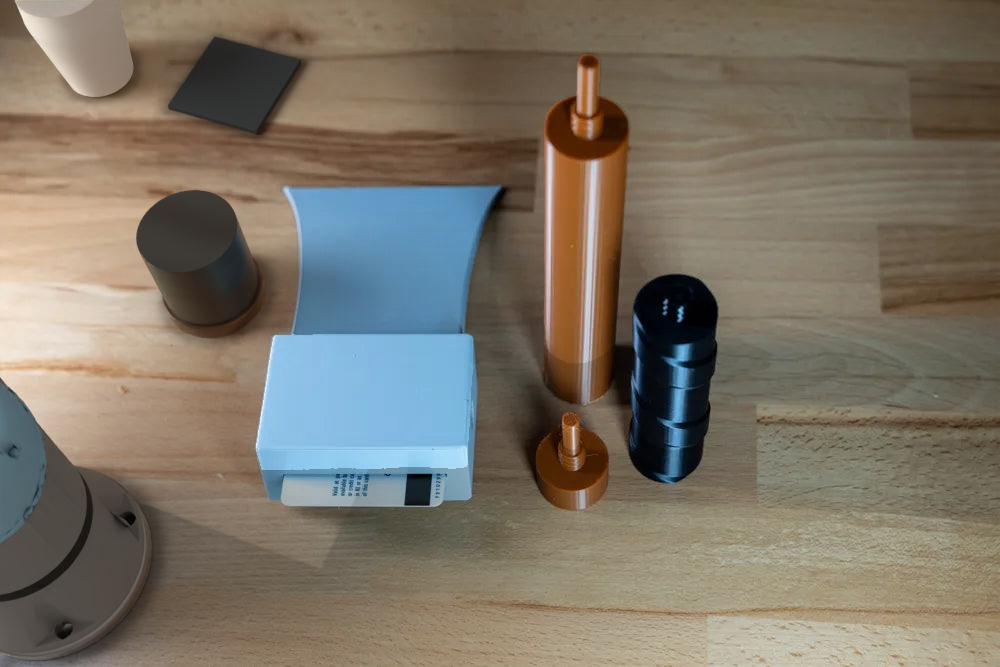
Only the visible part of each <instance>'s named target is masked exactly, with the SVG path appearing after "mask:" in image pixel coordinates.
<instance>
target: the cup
mask: <svg viewBox="0 0 1000 667" xmlns="http://www.w3.org/2000/svg"><path fill="white" fill-rule="evenodd" d="M14 3H15V5H16V8H17V9H18V11H19V14H20V16H21V18H22V22H23V24H24V27H26V29H27V31H28V32H29V34H30V35H31V36H32V38H33V39H34V40H35V42H36V43H37V44H38V46H39V47H40V48H41V50H42V51H43V52H44V53H45V55H46V56H47V58H48V59H49V61H51V63H52V64H53V66H55V69H56V70H58V73H60V74H61V76H62V77H63V78H64V80H65V81H66V82H67V84H68V85H69V86H70V87H71V89H72V90H73V91H74V92H75V93H77V94H79V95H81V96H84V97H89V98H100V97H105V96H109V95H111V94H114V93H116V92H118V91H120V90H121V89H123V88H124V87H125V86H126V85H127V84H128V83H129V82H130V80H131V78H132V77H133V74H134V61H133V58H132V53H131V49H130V45H129V39H128V36H127V32H126V27H125V23H124V18H123V15H122V10H121V5H120V1H119V0H14Z"/></svg>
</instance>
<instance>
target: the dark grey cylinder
mask: <svg viewBox="0 0 1000 667" xmlns="http://www.w3.org/2000/svg"><path fill="white" fill-rule="evenodd" d="M135 237H136V238H135V242H136V247H137V250H138V252H139V255H140V256H141V258H142V260H143V262H144V264H145V266H146V268H147V270H148V272H149V273H150V276H151V278H152V279H153V281H154V283H155V284H156V286H157V288H158V291H159V292H160V294H161V297H162V298H161V299H162V303H163V307H164V308H165V310H166V312H167V314H168V316H169V318H170V320H171V321H172V322H173V324H174V325H175V326H176V327H177V328H179V329H180V330H181V331H182V332H184V333H186V334H189V335H191V336H194V337H198V338H205V339H212V338H221V337H226V336H228V335H231V334H233V333H236V332H238V331H240V330H241V329H243V328H244V327H246V326H247V325H249V324H250V323H251V322H252V321H253V320H254V319H255V317H256V316H257V315H258V314H259V312H260V311H261V309H262V307H263V305H264V303H265V299H266V296H267V295H266V294H267V285H266V284H267V283H266V279H265V277H264V274H263V272H262V268H261V266H260V264H259V263H258V262H257V260H256V259H255V258H254V257H253V255H252V252H251V251H250V248H249V245H248V243H247V240H246V237H245V235H244V233H243V230H242V227H241V225H240V222H239V219H238V217H237V214H236V212H235V210H234V208H233V207H232V204H230V203H229V202H228V201H227V200H226V199H225V198H223V197H222V196H220V195H218V194H216V193H214V192H211V191H207V190H202V189H201V190H200V189H190V190H189V189H188V190H181V191H178V192H175V193H172V194H169V195H167V196H165V197H164V198H161V199H159V200H158V201H157V202H155V203H154V204H153V205H152V206H151V207H150V208H148V210H147V211H146V212H145V213H144V214H143V216H142V218H141V219H140V221H139V224H138V226H137V229H136V234H135Z"/></svg>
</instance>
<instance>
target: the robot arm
mask: <svg viewBox="0 0 1000 667" xmlns="http://www.w3.org/2000/svg"><path fill="white" fill-rule="evenodd" d="M152 545H153V541H152V535H151V530H150V525H149V523H148V521H147V517H146V516H145V514H144V512H143V510H142V509H141V507H140V505H139V504H138V503H137V501H136V500H135V499H134V498H133V497H132V495H131V494H130V493H129V492H128V491H127V489H126V488H124V487H123V486H122V485H121V484H120V483H119V482H118V481H116V480H115V479H114V478H111V477H109V475H106V474H105V473H102V472H99V471H96V470H92V469H90V468H85V467H82V466H78V465H75V464H73V463H72V462H71V460H70V459H69V457H67V456H66V455H65V454H64V452H63V451H62V450H61V449H60V448H59V446H58V445H57V444H56V443H55V442H54V440H53V439H52V438H51V437H50V436H49V434H48V433H47V432H46V430H44V428H42V425H40V424H39V423H38V421H37V420H36V418H35V416H34V414H33V413H32V411H31V410H30V408H29V407H28V406H27V404H26V402H25V401H24V400H23V399H21V397H20V396H19V395H18V393H17V392H15V391H14V390H13V389H12V388H11V387H9V386H8V385H7V383H6V382H5V381H4V380H3V379H2V377H0V654H2V655H4V656H7V657H10V658H14V659H18V660H26V661H44V660H45V661H46V660H52V659H58V658H62V657H66V656H69V655H72V654H74V653H78V652H79V651H82V650H84V649H86V648H88V647H90V646H91V645H93V644H95V643H96V642H98V641H100V640H101V639H103V638H104V637H105V636H106V635H108V634H109V633H110V632H111V631H112V630H113V629H115V628H116V627H117V626H118V625H119V624H120V623H121V622H122V621H123V620H124V618H125V617H126V616H128V614H129V612H130V611H131V610H132V609H133V607H134V605H135V604H136V603H137V600H138V599H139V597H140V596H141V593H142V591H143V589H144V587H145V585H146V582H147V579H148V576H149V574H150V573H149V572H150V569H151V565H152V564H151V563H152V555H153V546H152Z"/></svg>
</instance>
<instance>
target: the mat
mask: <svg viewBox="0 0 1000 667" xmlns="http://www.w3.org/2000/svg"><path fill="white" fill-rule="evenodd" d="M301 65H302V59H301V58H297V57H293V56H290V55H286V54H283V53H279V52H276V51H271V50H267V49H265V48H264V49H263V48H260V47H257V46H252V45H248V44H245V43H241V42H238V41H234V40H230V39H227V38H223V37H219V36H214V37H213V38H212V39H211V41H210V42H209V44H208V46H206V48H205V50H204V51H203V52H202V54H201V56H200V57H199V59H198V60H197V61H196V63H195V64H194V66H193V68H192V69H191V70H190V72H189V73H188V75H187V76H186V77H185V79H184V80H183V82H182V84H181V85H180V87H179V88H178V90H177V91H176V93H175V94H174V95H173V97H172V99H171V100H170V101H169V103H168V104H167V108H168V110H170V111H172V112H173V111H174V112H177V113H180V114H184V115H187V116H190V117H194V118H198V119H201V120H204V121H209V122H212V123H215V124H219V125H223V126H226V127H230V128H232V129H236V130H239V131H244V132H247V133H251V134H254V135H259V133H260V131H261V130H262V128H264V125H265V123H266V122H267V120H268V119H269V117H270V115H271V114H272V112H273V111H274V109H275V107H276V106H277V105H278V102H280V100H281V97H282V96H283V95H284V92H286V90H287V88H288V86H289V85H290V83H291V81H292V80H293V79H294V77H295V76H296V73H297V72H298V70H299V69H300V67H301Z"/></svg>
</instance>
